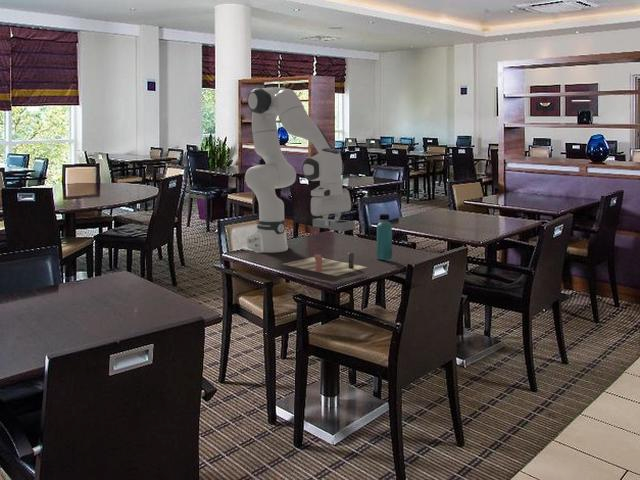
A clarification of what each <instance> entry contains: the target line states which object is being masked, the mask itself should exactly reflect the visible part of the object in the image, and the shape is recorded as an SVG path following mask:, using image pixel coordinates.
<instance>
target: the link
mask: <svg viewBox="0 0 640 480" xmlns="http://www.w3.org/2000/svg"><path fill="white" fill-rule="evenodd" d="M328 220H329V221H330V225H329V226H325V221H324V219H323V218H322V217H321V218H320V217H317V218H312V227H313V228H321V229H328V230H329V231H338V232H346V231H351V230H355V221H353V220H345V219H339V220H334V219H329V218H328Z"/></svg>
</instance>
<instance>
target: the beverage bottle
mask: <svg viewBox="0 0 640 480" xmlns="http://www.w3.org/2000/svg"><path fill="white" fill-rule="evenodd" d="M378 219H379V220H381V221H379V222H378V223H377V224H376V239H375V240H376V258H377V259H378V260H382V261H383V260H384V261H386V260H387V261H388V260H389V261H390V260H391V259H392V258H393V225H392V223H390V222H389V221H388V220H390V214H389V213H381V214H379V218H378ZM385 220H386V221H385Z"/></svg>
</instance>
